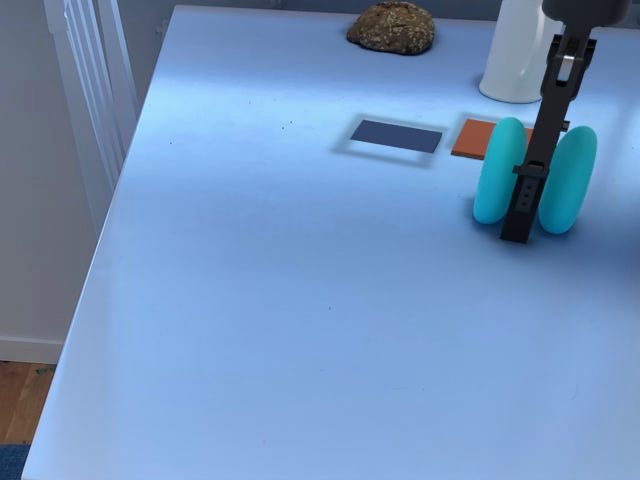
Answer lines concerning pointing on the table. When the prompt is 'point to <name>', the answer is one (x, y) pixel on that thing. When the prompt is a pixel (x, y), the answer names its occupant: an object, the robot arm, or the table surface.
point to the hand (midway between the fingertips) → (520, 217)
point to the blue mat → (397, 136)
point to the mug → (519, 52)
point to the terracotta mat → (477, 139)
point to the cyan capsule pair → (561, 185)
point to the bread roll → (393, 28)
